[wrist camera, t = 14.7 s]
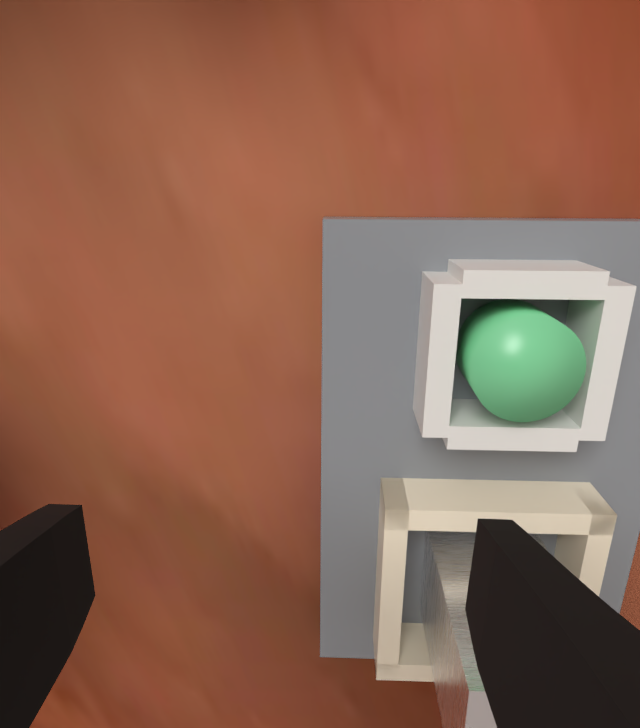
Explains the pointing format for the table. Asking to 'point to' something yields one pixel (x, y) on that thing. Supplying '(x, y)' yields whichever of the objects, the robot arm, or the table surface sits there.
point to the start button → (520, 360)
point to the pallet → (466, 414)
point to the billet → (452, 629)
